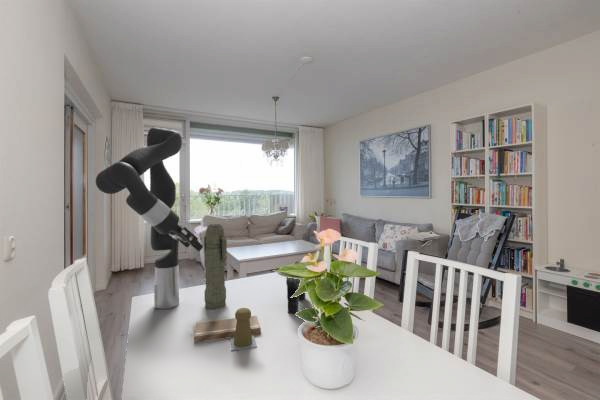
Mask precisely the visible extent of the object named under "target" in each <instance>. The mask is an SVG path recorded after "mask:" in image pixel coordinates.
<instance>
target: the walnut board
mask: <svg viewBox="0 0 600 400" xmlns="http://www.w3.org/2000/svg"><path fill="white" fill-rule="evenodd" d="M249 320H250V327H251V334H254V335H258V334H261V332H262V329H261V325H260V321H259V319H258V315H251V318H250V319H249ZM236 322H237V320H236V318H235V317H233V318H227V319H226V318H224V319H216V320H215V319H214V320H208V321H201V322H195V328H194V335H193V339H194V340H193V342H194V343H199V342H200V343H201V342H208V341H213V340H215V341H216V340H220V339H221V340H222V339H228V338H229V339H230V337H235V330H236Z"/></svg>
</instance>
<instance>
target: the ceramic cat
mask: <svg viewBox="0 0 600 400" xmlns="http://www.w3.org/2000/svg"><path fill="white" fill-rule="evenodd" d="M295 264H296V265H297V264H299V261H295V263H294V265H295ZM285 281H286V292H287V293H286V298H287V313H288V314H290V315H296V314H295V313H296V312H297V313H298V312H299V302H300V301H305V300H306V293H303V294H301V295H299V296H297V297H293V298H290V297H291V296H292V295H293V294H294V293H295V291H296V290H297V289H298V287H299V283H300V280H299V279H294V278H288V277H287V276H286V280H285Z"/></svg>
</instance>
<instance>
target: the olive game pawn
mask: <svg viewBox="0 0 600 400" xmlns="http://www.w3.org/2000/svg"><path fill="white" fill-rule="evenodd" d="M251 316H252V312H251V310H250V309H249V308H247V307H239V308H238V309H237V310H236V311H235V314H234V318H236V320H237V322H236V330H235V338H234V345H235V346H237V347H247V346H249V345H251V344H252V335H251V327H250V320H249V319H250V318H251Z"/></svg>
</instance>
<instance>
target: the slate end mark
mask: <svg viewBox="0 0 600 400" xmlns="http://www.w3.org/2000/svg"><path fill="white" fill-rule="evenodd" d="M251 335H252V344H251V345H249V346H247V347H237V346H235V345H234V338H235V337H230V338H229V340H230V349H231V352H235V351H241V350H248V349H254V348H255V349H256V348H258V345H257V342H256V338H255V334H251Z"/></svg>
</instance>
